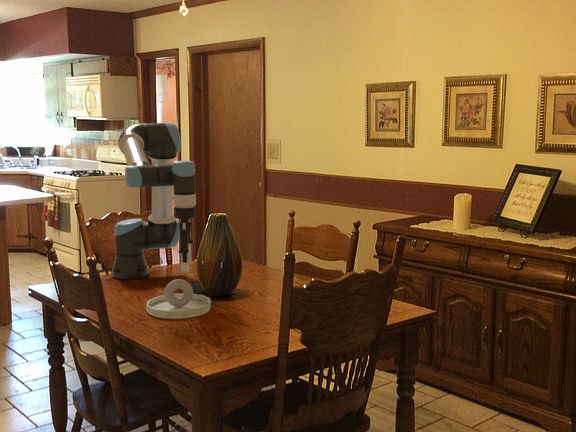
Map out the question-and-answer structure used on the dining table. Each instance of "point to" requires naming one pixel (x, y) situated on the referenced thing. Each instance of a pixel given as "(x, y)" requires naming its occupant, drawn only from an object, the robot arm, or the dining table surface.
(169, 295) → the donut
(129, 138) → the robot arm
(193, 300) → the dish
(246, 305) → the dining table surface
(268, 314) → the dining table surface
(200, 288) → the dark slate chunk
